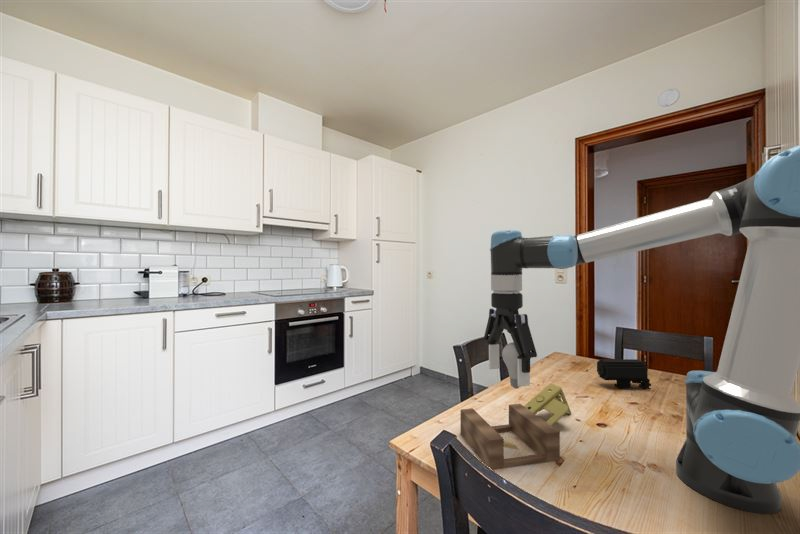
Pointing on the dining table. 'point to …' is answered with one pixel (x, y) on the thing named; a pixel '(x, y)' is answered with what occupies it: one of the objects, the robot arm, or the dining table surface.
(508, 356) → the lightbulb
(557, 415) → the bracket
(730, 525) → the dining table surface
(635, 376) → the security camera
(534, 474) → the dining table surface
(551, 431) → the brown open rectangular frame
